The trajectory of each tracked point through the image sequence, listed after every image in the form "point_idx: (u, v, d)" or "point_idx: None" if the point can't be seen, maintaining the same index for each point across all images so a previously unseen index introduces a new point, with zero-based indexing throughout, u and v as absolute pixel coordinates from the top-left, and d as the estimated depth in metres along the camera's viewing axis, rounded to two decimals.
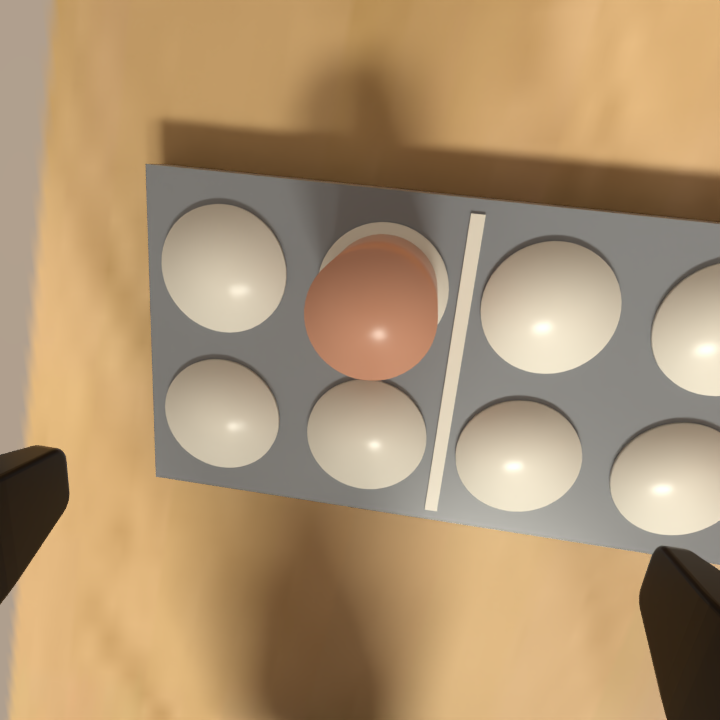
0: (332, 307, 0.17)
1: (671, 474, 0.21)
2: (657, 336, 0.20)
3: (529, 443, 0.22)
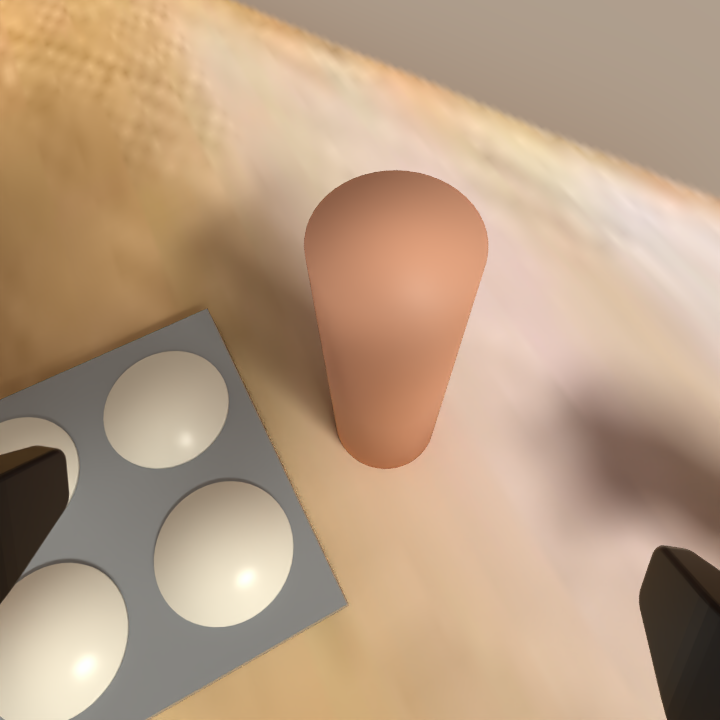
0: None
1: (212, 546, 0.19)
2: (115, 442, 0.21)
3: (56, 614, 0.19)
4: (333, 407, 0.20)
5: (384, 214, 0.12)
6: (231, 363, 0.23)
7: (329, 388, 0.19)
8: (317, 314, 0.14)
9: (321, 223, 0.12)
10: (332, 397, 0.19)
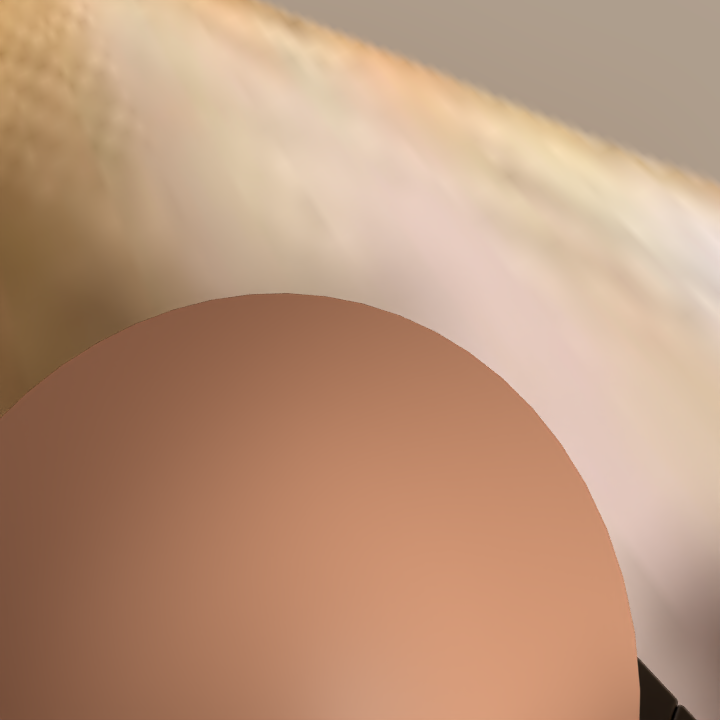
0: None
1: None
2: None
3: None
4: None
5: (223, 482, 0.03)
6: None
7: None
8: None
9: None
10: None
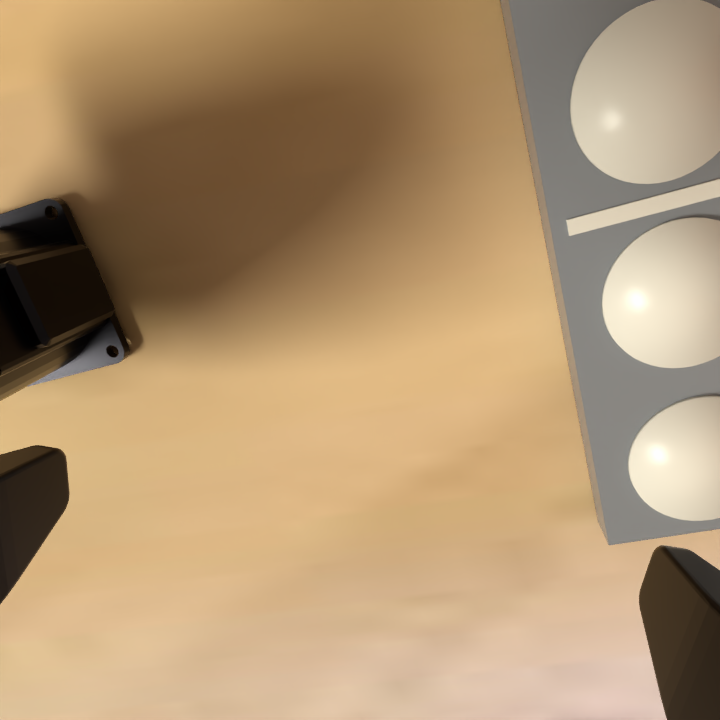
0: None
1: (711, 452, 0.19)
2: None
3: (709, 300, 0.17)
4: None
5: None
6: None
7: None
8: None
9: None
10: None
